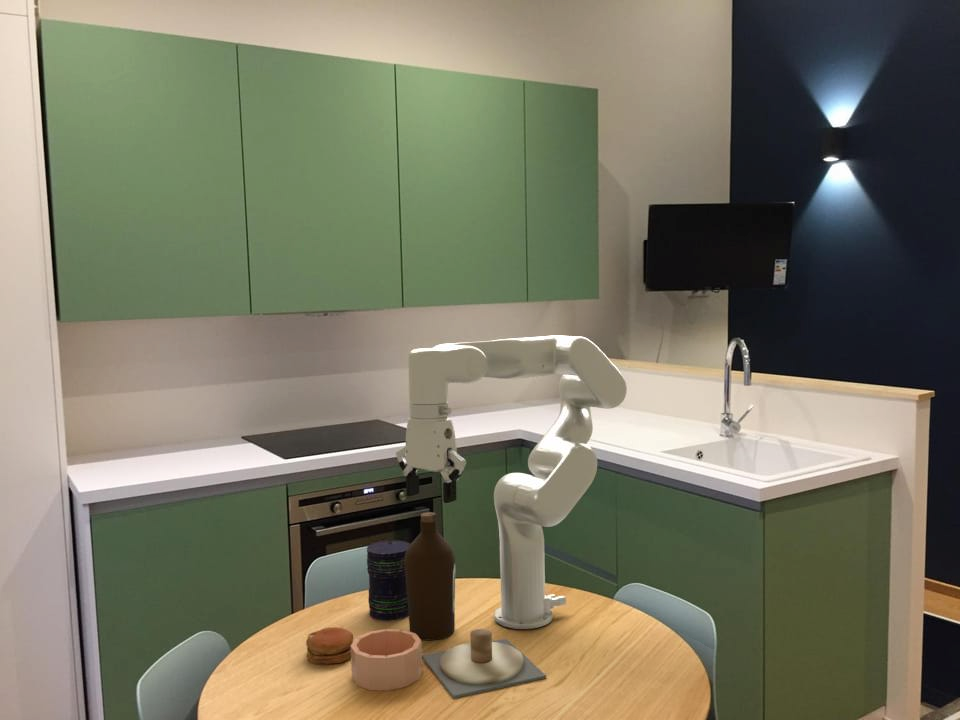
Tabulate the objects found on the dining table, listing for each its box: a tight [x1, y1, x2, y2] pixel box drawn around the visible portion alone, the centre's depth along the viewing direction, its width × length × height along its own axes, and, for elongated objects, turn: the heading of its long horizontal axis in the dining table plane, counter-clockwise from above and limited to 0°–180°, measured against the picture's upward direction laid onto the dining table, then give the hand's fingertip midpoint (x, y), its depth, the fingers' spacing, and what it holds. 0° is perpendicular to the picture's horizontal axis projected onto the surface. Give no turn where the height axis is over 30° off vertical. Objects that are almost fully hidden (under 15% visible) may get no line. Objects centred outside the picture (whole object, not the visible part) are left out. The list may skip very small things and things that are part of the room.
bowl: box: [350, 628, 423, 692], centre depth 156 cm, size 13×13×6 cm
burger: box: [305, 626, 354, 665], centre depth 165 cm, size 10×9×5 cm
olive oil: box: [404, 511, 457, 641], centre depth 174 cm, size 11×11×25 cm
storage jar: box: [366, 539, 411, 622], centre depth 185 cm, size 10×10×15 cm
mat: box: [422, 638, 547, 699], centre depth 157 cm, size 18×18×1 cm
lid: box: [440, 628, 523, 684], centre depth 157 cm, size 16×16×6 cm
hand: (431, 498), depth 164 cm, fingers open, 9 cm apart
